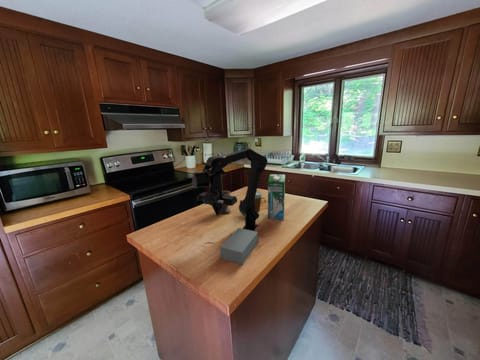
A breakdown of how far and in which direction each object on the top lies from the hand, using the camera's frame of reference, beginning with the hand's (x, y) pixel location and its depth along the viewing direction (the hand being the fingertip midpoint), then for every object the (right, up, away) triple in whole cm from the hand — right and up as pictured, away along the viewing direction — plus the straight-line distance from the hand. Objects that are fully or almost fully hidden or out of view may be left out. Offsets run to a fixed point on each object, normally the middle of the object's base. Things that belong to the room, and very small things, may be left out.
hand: (217, 215), depth 98 cm
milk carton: (+32, -5, +26) cm, 42 cm away
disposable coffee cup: (+20, -3, +35) cm, 40 cm away
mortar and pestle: (0, -4, +33) cm, 34 cm away
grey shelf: (+11, -14, -7) cm, 19 cm away
